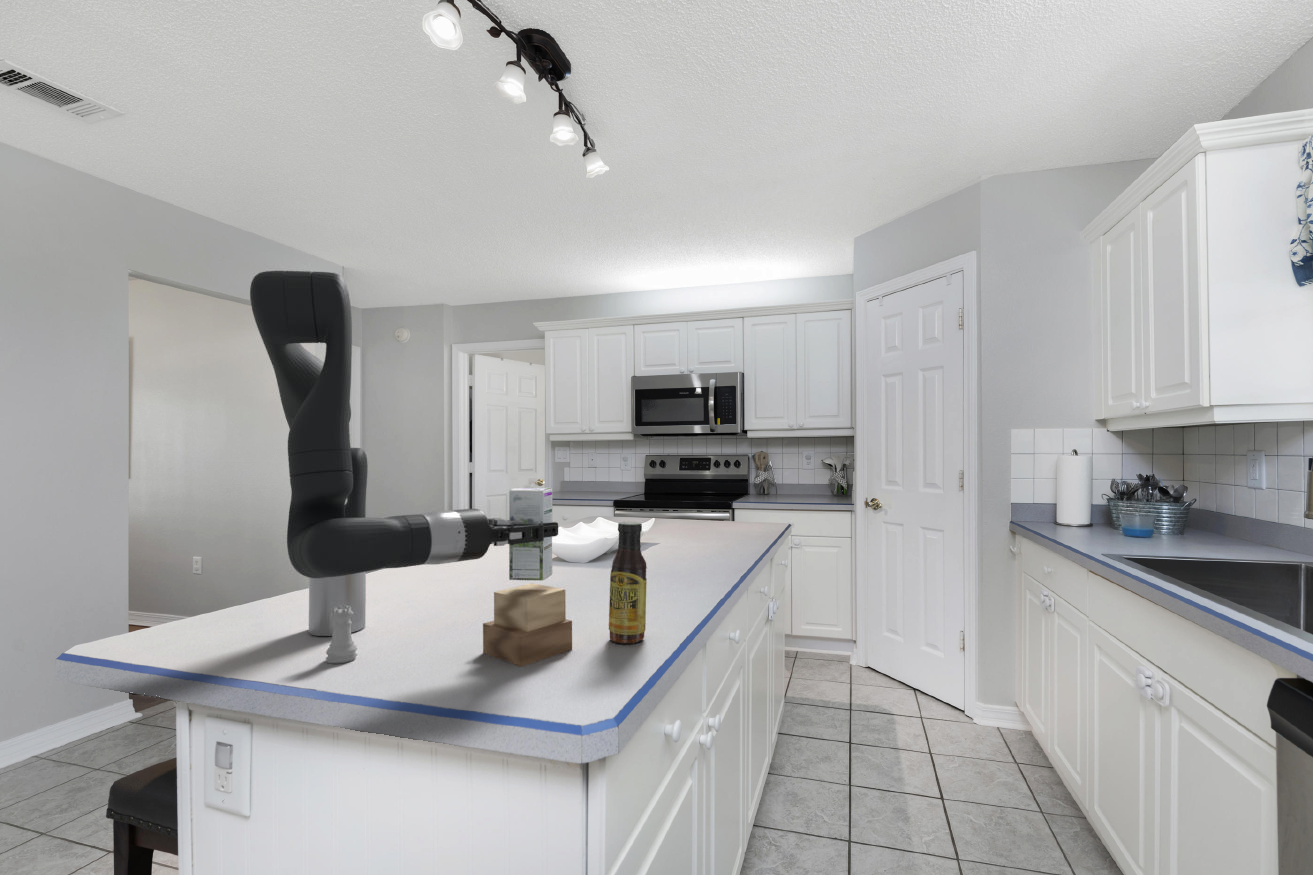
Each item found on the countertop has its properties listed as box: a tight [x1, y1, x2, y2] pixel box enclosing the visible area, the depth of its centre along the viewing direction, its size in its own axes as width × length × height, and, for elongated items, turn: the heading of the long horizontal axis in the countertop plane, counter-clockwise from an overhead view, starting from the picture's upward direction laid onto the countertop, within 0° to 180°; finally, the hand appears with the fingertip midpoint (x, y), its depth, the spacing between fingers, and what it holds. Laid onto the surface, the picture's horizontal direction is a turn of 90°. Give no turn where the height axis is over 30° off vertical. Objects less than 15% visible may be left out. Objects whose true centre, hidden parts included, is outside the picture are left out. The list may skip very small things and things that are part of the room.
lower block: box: [482, 619, 573, 668], centre depth 98 cm, size 10×10×5 cm
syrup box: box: [508, 487, 553, 581], centre depth 99 cm, size 6×6×14 cm
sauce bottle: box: [608, 521, 648, 645], centre depth 104 cm, size 7×6×20 cm
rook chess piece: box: [325, 606, 358, 665], centre depth 95 cm, size 4×4×8 cm
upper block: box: [493, 582, 567, 632], centre depth 98 cm, size 8×8×5 cm
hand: (540, 526), depth 100 cm, fingers closed on syrup box, 8 cm apart
